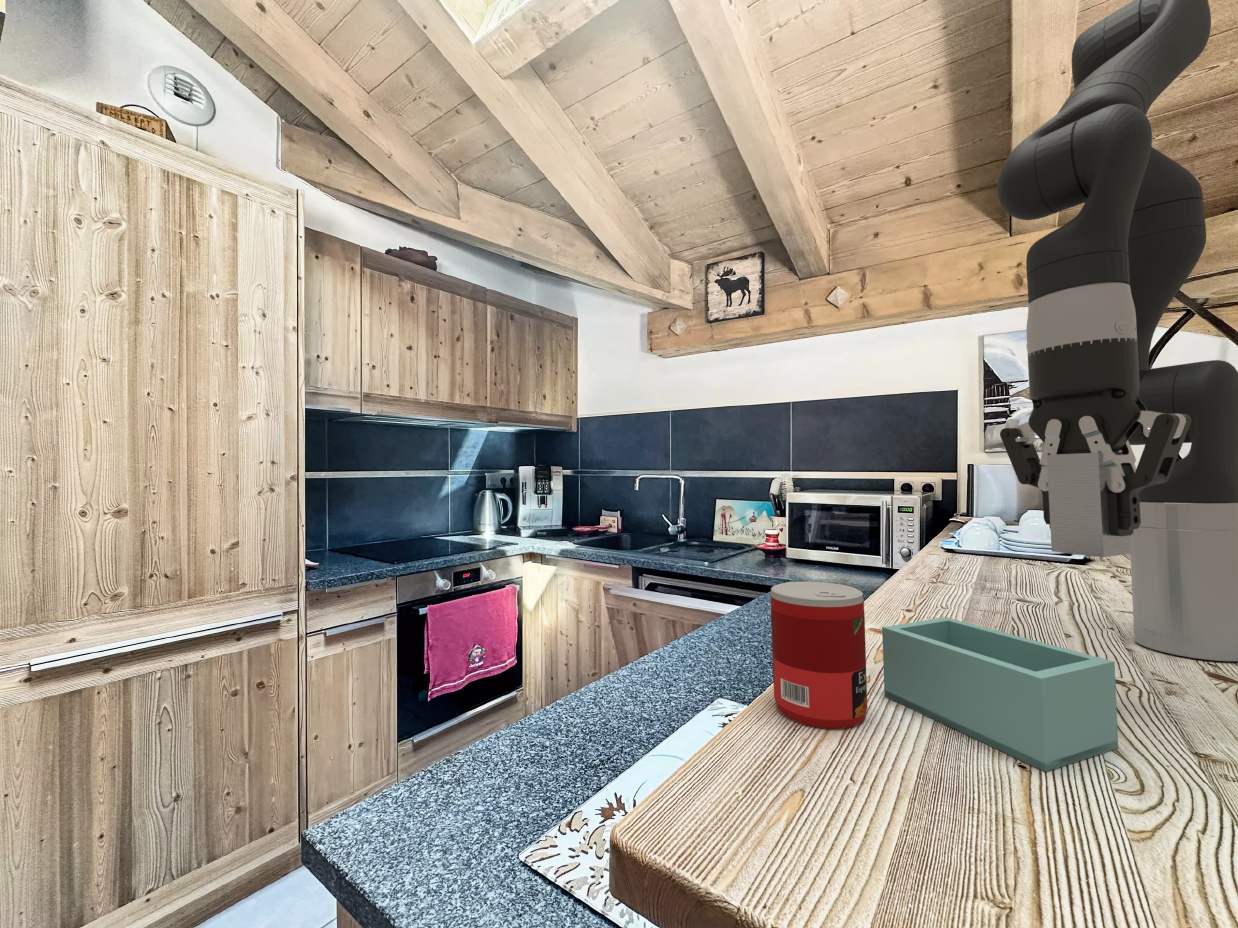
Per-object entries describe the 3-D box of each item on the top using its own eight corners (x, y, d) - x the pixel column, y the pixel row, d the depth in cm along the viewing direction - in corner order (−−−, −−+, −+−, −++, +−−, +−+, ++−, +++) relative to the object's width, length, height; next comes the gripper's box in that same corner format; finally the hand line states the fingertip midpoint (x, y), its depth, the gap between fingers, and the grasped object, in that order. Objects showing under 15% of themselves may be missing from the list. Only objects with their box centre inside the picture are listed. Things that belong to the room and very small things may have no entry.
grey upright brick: (1078, 547, 50) (1073, 453, 50) (1131, 553, 46) (1126, 451, 46) (1051, 551, 49) (1046, 454, 49) (1103, 557, 45) (1098, 452, 45)
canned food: (878, 734, 43) (873, 600, 43) (778, 727, 45) (774, 598, 45) (856, 695, 51) (852, 581, 51) (770, 690, 52) (767, 580, 53)
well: (948, 682, 53) (945, 616, 53) (1118, 748, 40) (1114, 661, 40) (884, 695, 50) (882, 627, 51) (1045, 771, 37) (1041, 678, 37)
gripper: (1211, 326, 42) (1223, 537, 42) (1023, 362, 56) (1032, 523, 56) (1157, 320, 40) (1170, 546, 40) (974, 360, 53) (982, 529, 53)
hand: (1089, 531), depth 48 cm, fingers closed on grey upright brick, 4 cm apart
